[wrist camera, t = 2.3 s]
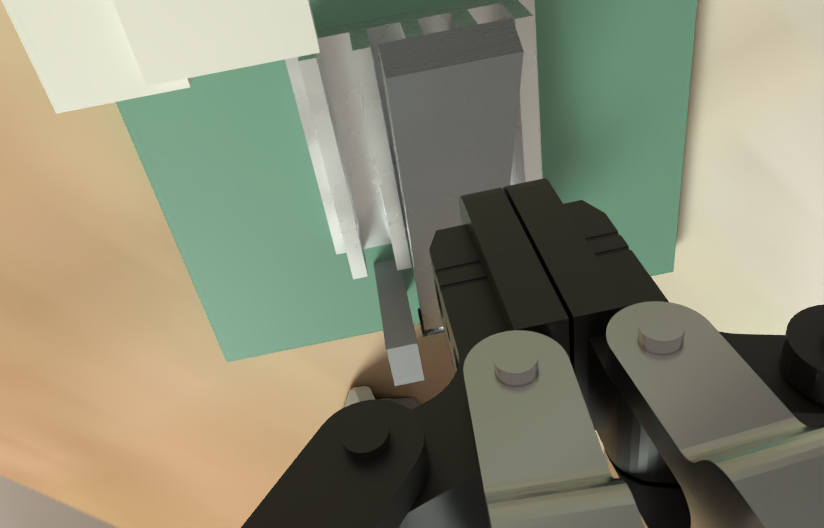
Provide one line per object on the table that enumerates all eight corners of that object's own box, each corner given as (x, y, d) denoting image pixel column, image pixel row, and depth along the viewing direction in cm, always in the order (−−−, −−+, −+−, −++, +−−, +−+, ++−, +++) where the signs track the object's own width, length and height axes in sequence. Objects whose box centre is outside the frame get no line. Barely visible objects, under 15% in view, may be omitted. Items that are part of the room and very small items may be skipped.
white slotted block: (526, -11, 25) (551, 12, 23) (537, 201, 30) (558, 238, 28) (281, 36, 25) (279, 64, 22) (335, 241, 30) (338, 282, 28)
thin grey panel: (491, 300, 30) (498, 325, 29) (418, 315, 30) (423, 341, 29) (515, 13, 15) (529, 54, 15) (372, 41, 15) (381, 83, 15)
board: (697, -193, 24) (823, -183, 18) (662, 257, 35) (733, 351, 29) (56, -71, 23) (-25, -22, 17) (228, 345, 34) (214, 458, 28)
